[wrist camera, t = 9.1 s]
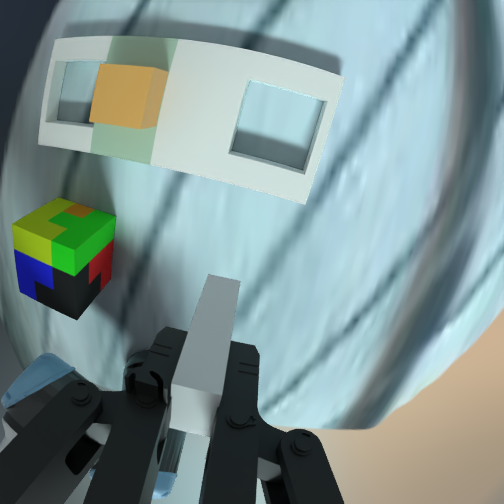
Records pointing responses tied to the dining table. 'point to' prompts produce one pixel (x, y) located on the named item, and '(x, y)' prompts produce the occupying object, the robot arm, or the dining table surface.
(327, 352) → the dining table surface
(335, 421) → the dining table surface
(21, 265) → the puzzle toy
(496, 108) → the dining table surface
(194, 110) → the plate
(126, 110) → the orange block
